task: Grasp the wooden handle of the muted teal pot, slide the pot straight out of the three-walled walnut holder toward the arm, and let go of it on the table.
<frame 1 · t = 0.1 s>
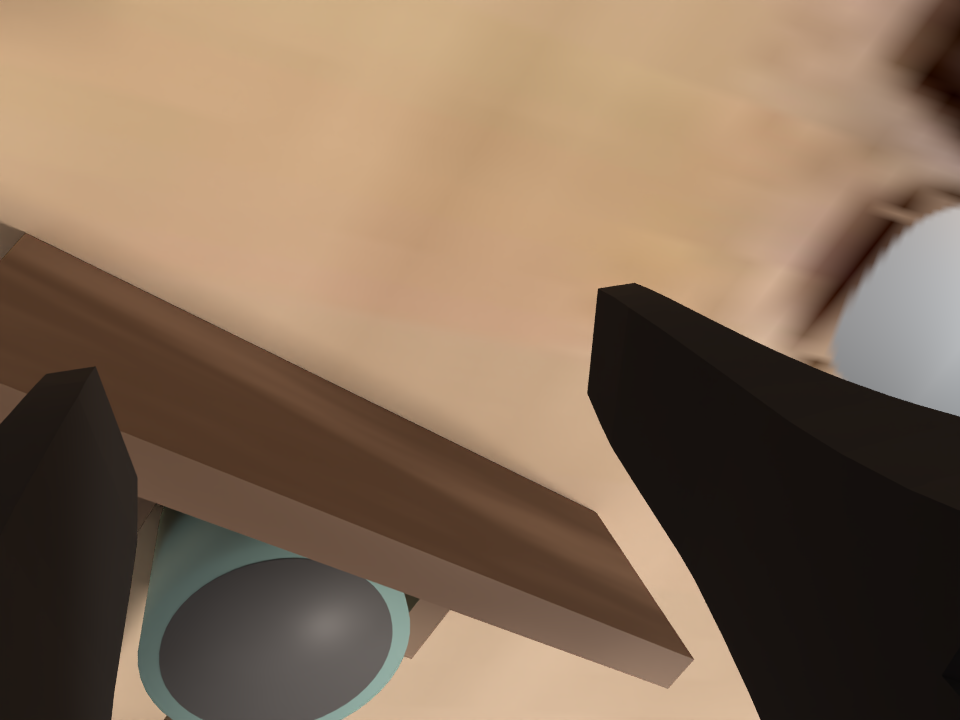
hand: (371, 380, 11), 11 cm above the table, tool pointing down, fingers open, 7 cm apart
holder: (274, 533, 24), on the table
pot: (274, 531, 24), on the table
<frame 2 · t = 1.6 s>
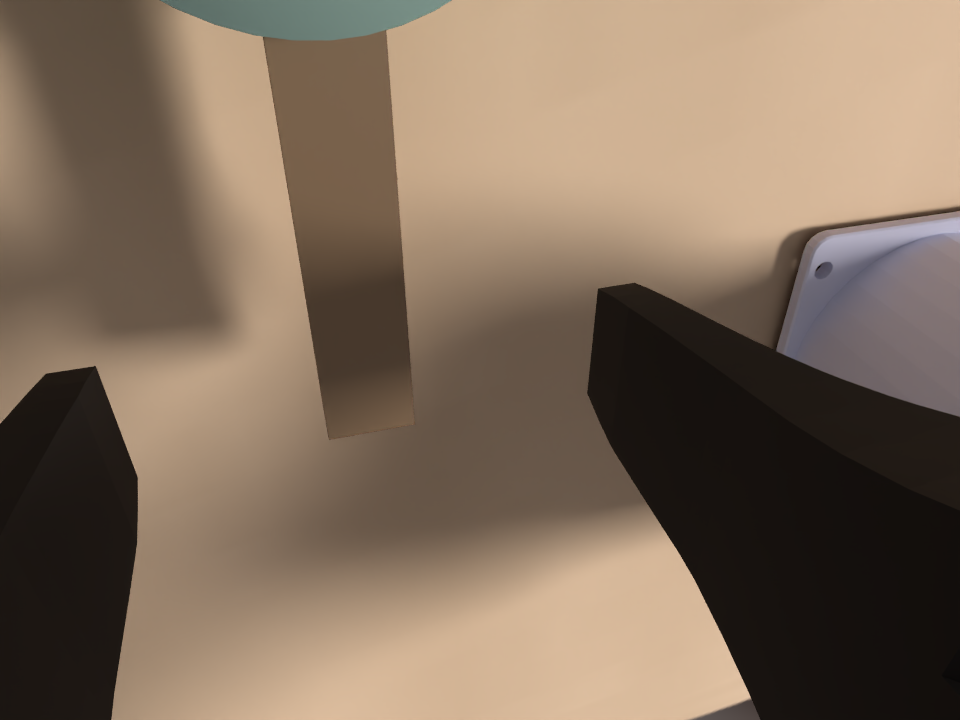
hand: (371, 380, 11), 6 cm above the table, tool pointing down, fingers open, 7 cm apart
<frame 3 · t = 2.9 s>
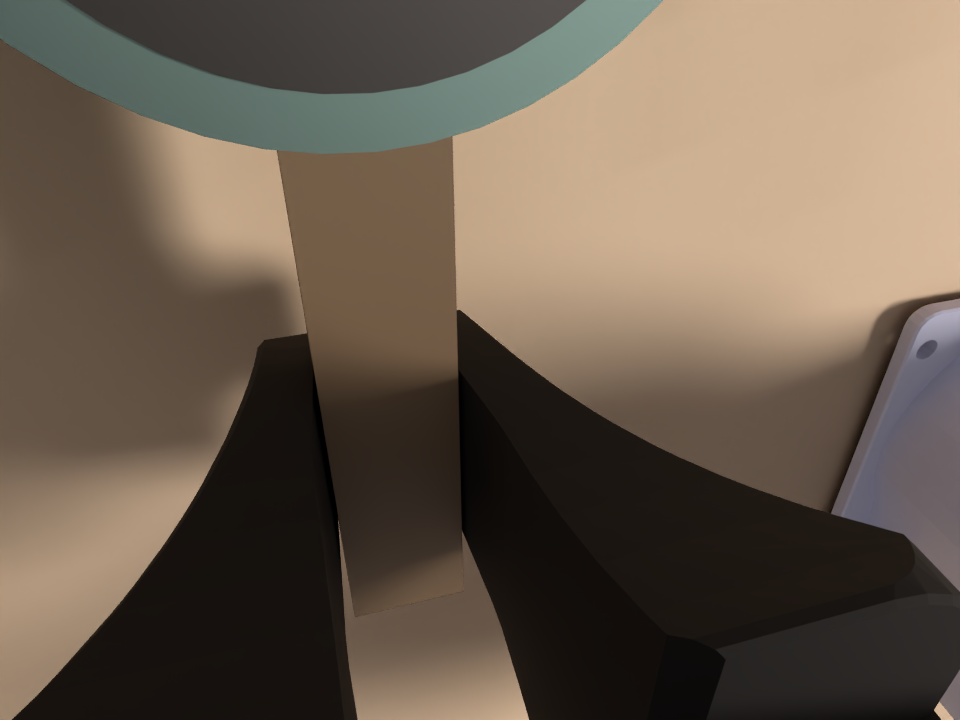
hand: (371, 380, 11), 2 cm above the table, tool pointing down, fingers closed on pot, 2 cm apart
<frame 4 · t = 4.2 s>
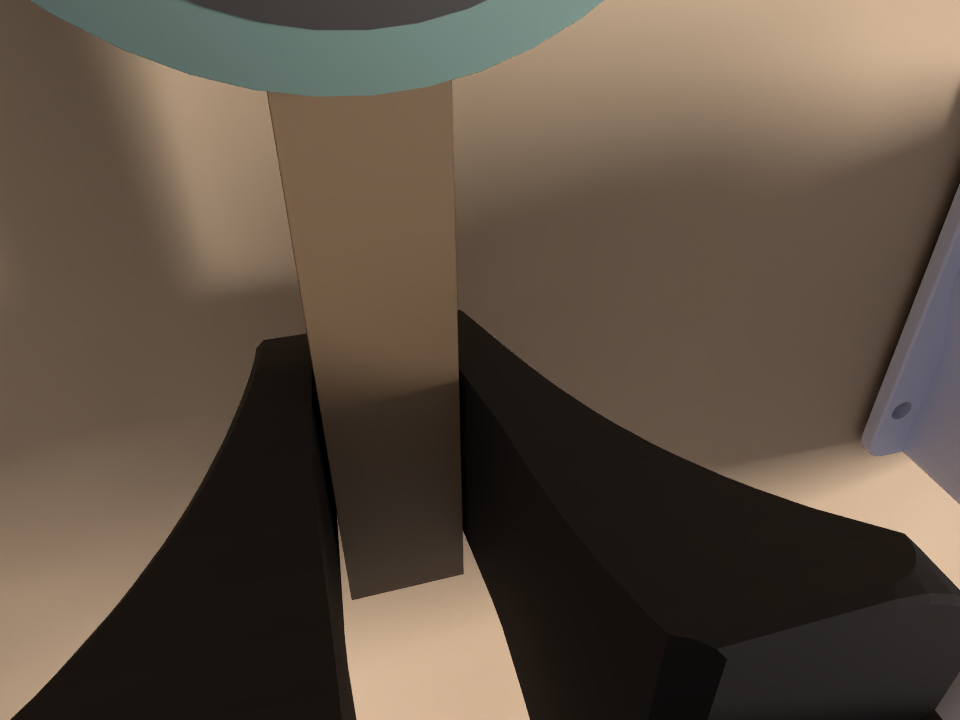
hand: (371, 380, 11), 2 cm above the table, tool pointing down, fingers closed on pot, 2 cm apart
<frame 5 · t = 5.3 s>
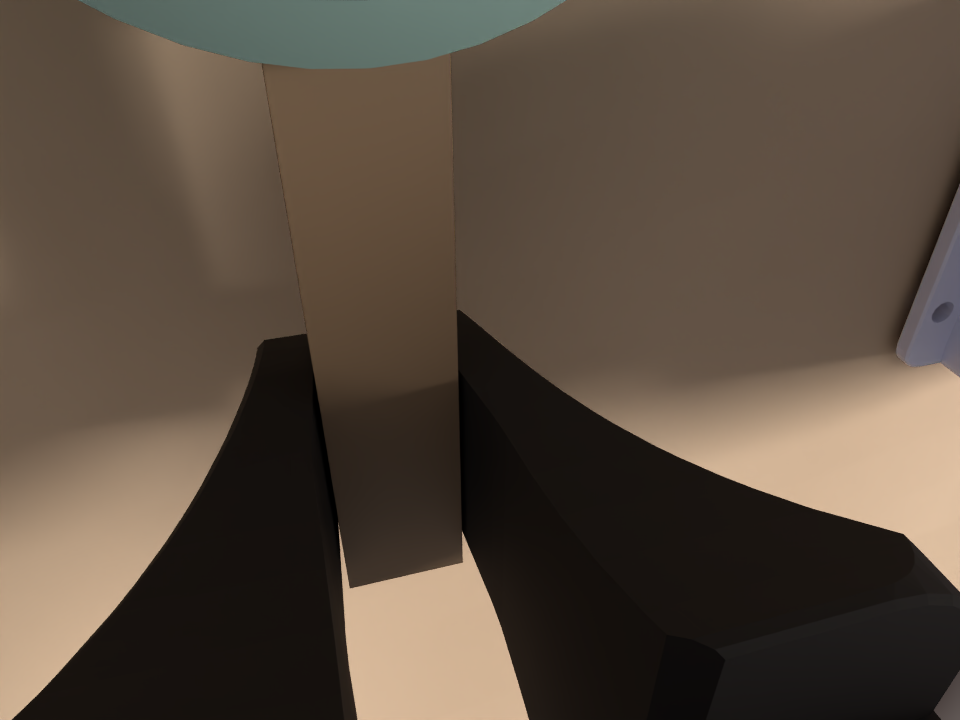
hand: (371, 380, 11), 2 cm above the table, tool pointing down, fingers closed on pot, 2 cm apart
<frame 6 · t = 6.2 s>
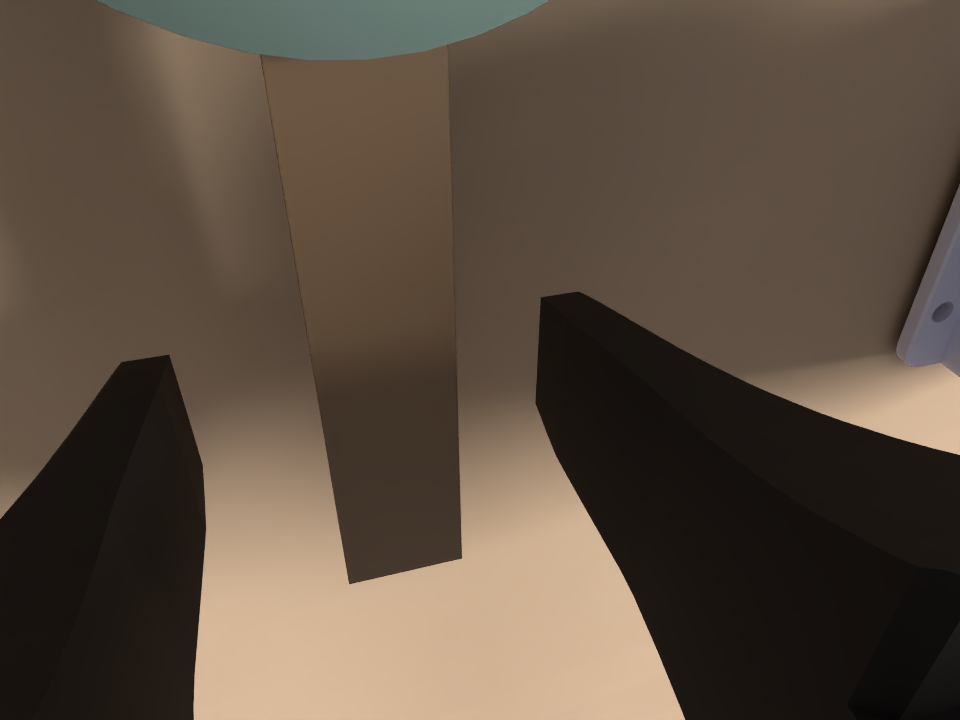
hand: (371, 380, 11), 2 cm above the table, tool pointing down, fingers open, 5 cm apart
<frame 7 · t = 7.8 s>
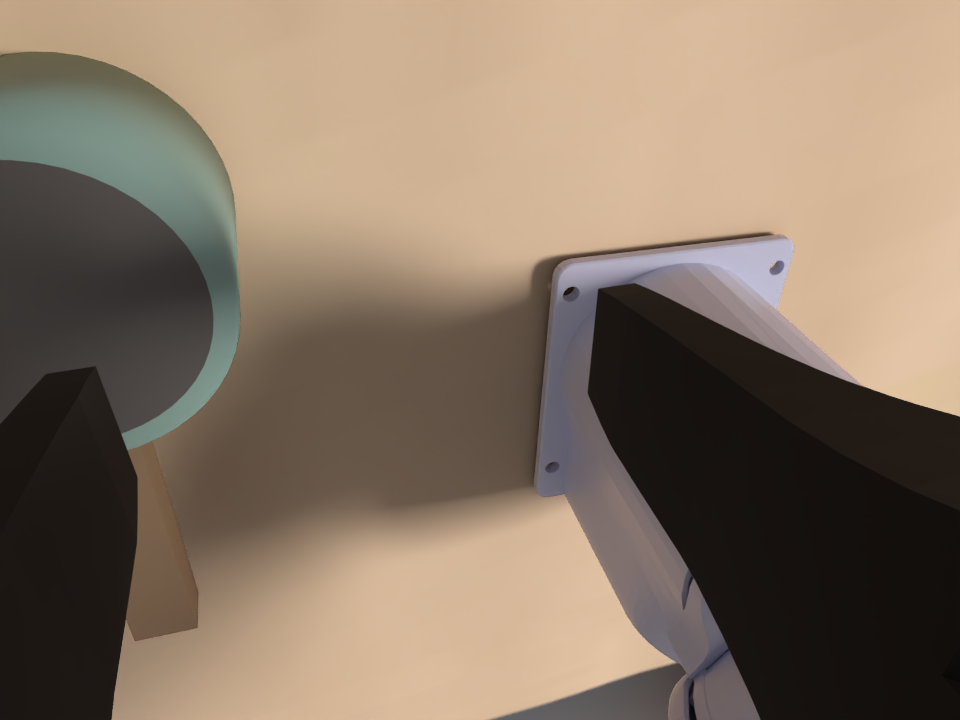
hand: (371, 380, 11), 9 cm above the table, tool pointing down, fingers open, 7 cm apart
pot: (79, 207, 18), on the table
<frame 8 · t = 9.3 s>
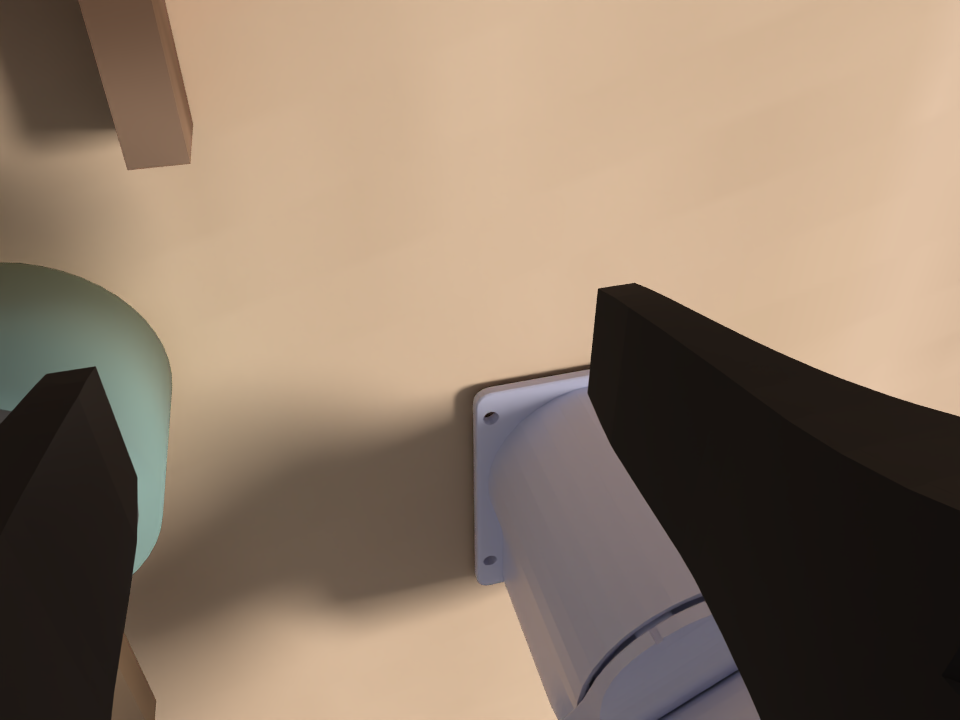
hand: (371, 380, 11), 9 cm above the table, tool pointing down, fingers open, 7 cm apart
pot: (28, 380, 20), on the table
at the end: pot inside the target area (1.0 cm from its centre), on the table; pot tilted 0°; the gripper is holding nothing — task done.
